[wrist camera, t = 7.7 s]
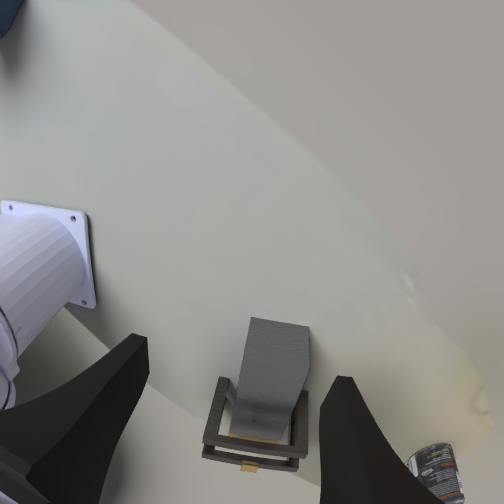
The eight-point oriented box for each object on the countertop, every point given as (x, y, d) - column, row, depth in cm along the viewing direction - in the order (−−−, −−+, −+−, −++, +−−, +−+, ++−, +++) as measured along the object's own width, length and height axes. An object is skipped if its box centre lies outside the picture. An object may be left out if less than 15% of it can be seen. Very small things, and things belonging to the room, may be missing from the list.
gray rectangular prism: (233, 408, 26) (226, 443, 23) (250, 316, 22) (242, 356, 18) (278, 415, 26) (275, 451, 23) (309, 326, 21) (310, 367, 18)
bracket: (218, 382, 25) (202, 443, 19) (219, 376, 25) (202, 438, 19) (305, 396, 25) (304, 458, 19) (308, 390, 24) (307, 454, 19)
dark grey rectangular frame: (216, 401, 26) (200, 462, 20) (217, 393, 26) (200, 456, 20) (297, 414, 26) (295, 477, 20) (301, 407, 25) (299, 471, 19)
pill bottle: (398, 464, 30) (407, 540, 20) (428, 440, 27) (445, 523, 17) (430, 464, 30) (442, 533, 20) (460, 442, 27) (478, 515, 17)
